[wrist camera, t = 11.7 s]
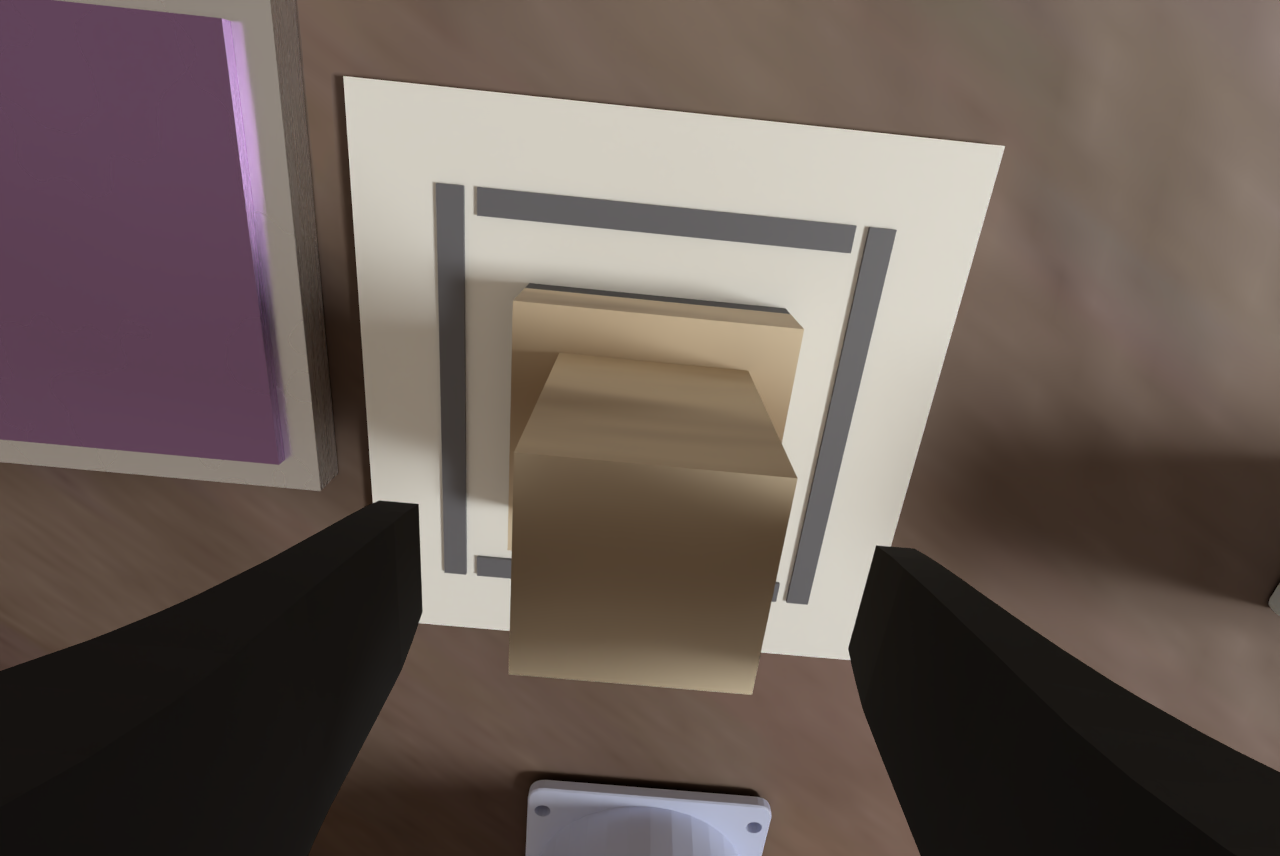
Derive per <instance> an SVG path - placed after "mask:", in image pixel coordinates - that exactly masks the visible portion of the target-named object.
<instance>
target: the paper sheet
mask: <svg viewBox="0 0 1280 856" xmlns="http://www.w3.org/2000/svg"><path fill="white" fill-rule="evenodd" d="M343 80H344V94H345V109H346V123H347V137H348V152H349V166H350V181H351V195H352V210H353V224H354V239H355V253H356V268H357V282H358V297H359V311H360V325H361V340H362V354H363V369H364V383H365V398H366V412H367V427H368V441H369V456H370V470H371V484H372V499H373V503H375V502H377V501H379V500H381V501H392V502H403V503H414V504H419V527H420V555H421V582H422V610H423V612H422V615H421V618H420V621H419V623H424V624H436V625H447V626H459V627H471V628H482V629H494V630H506V631H510V597H511V556H512V551H511V550H507V548H508V502H509V455H510V409H511V362H512V315H513V300H514V299H515V298H516V297H517V296H518V295H519V294H520V293H521V291H522V290H523V289H524V288H525V287H526V286H527V285H528V284H529V283H534V284H544V285H554V286H564V287H574V288H585V289H595V290H605V291H615V292H625V293H635V294H645V295H655V296H665V297H676V298H686V299H696V300H706V301H716V302H726V303H736V304H746V305H756V306H767V307H777V308H786V309H787V311H788V312H789V313H790V314H791V315H792V316H793V317H794V318H795V320H796V321H797V322H798V323H799V324H800V325H801V326H802V327H803V329H804V332H803V338H802V343H801V348H800V353H799V358H798V363H797V368H796V373H795V378H794V383H793V389H792V394H791V399H790V404H789V409H788V414H787V419H786V424H785V429H784V434H783V439H782V445H783V448H784V450H785V452H786V454H787V456H788V459H789V461H790V463H791V465H792V467H793V469H794V472H795V474H796V476H797V478H798V479H797V484H796V489H795V493H794V498H793V503H792V508H791V512H790V517H789V522H788V526H787V531H786V536H785V541H784V545H783V550H782V555H781V560H780V564H779V569H778V574H777V579H776V583H775V588H774V593H773V597H772V602H771V607H770V612H769V616H768V621H767V626H766V631H765V635H764V640H763V645H762V650H761V652H762V653H774V654H785V655H797V656H809V657H820V658H832V659H843V660H850V655H849V651H848V647H849V643H850V640H851V636H852V632H853V629H854V625H855V621H856V618H857V614H858V610H859V607H860V603H861V599H862V595H863V592H864V588H865V584H866V581H867V577H868V573H869V570H870V566H871V562H872V559H873V555H874V551H875V548H876V545H878V546H889V547H891V544H892V541H893V537H894V534H895V530H896V527H897V523H898V520H899V516H900V513H901V509H902V506H903V502H904V499H905V495H906V492H907V488H908V485H909V481H910V478H911V474H912V471H913V467H914V464H915V460H916V457H917V453H918V450H919V446H920V443H921V439H922V436H923V432H924V429H925V425H926V421H927V418H928V414H929V411H930V407H931V404H932V400H933V397H934V393H935V390H936V386H937V383H938V379H939V376H940V372H941V369H942V365H943V362H944V358H945V355H946V351H947V348H948V344H949V341H950V337H951V334H952V330H953V327H954V323H955V320H956V316H957V313H958V309H959V306H960V302H961V299H962V295H963V292H964V288H965V285H966V281H967V278H968V274H969V271H970V267H971V264H972V260H973V257H974V253H975V250H976V246H977V243H978V239H979V236H980V232H981V229H982V225H983V222H984V218H985V215H986V211H987V208H988V204H989V201H990V197H991V194H992V190H993V187H994V183H995V180H996V176H997V173H998V169H999V166H1000V162H1001V159H1002V155H1003V152H1004V148H1005V146H999V145H989V144H980V143H970V142H961V141H952V140H942V139H933V138H923V137H914V136H904V135H895V134H886V133H876V132H867V131H857V130H848V129H838V128H829V127H819V126H810V125H801V124H791V123H782V122H772V121H763V120H753V119H744V118H735V117H725V116H716V115H706V114H697V113H687V112H678V111H669V110H659V109H650V108H640V107H631V106H621V105H612V104H602V103H593V102H584V101H574V100H565V99H555V98H546V97H536V96H527V95H518V94H508V93H499V92H489V91H480V90H470V89H461V88H451V87H442V86H433V85H423V84H414V83H404V82H395V81H385V80H376V79H367V78H357V77H348V76H343Z"/></svg>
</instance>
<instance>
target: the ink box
mask: <svg viewBox="0 0 1280 856" xmlns="http://www.w3.org/2000/svg"><path fill="white" fill-rule="evenodd" d="M1269 606H1270V608H1271V609H1272V610H1273V611H1274V612H1275V613H1276V614H1277V615H1279V616H1280V583H1279V585H1278V586H1277V588H1276V590H1275V591H1274V593H1273V594H1272V596H1271V597H1270V600H1269Z"/></svg>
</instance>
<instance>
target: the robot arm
mask: <svg viewBox="0 0 1280 856" xmlns="http://www.w3.org/2000/svg"><path fill="white" fill-rule="evenodd" d="M422 612H423V610H422V582H421V555H420V527H419V504H414V503H403V502H392V501H381V500H379V501H377V502H375V503H373V504H370V505H368V506H366V507H364V508H362V509H360V510H358V511H356V512H355V513H353V514H351V515H349V516H347V517H345V518H343V519H342V520H340V521H338V522H336V523H334V524H333V525H331V526H329V527H327V528H325V529H324V530H322V531H320V532H318V533H316V534H315V535H313V536H311V537H309V538H307V539H305V540H304V541H302V542H300V543H298V544H296V545H294V546H293V547H291V548H289V549H287V550H285V551H283V552H282V553H280V554H278V555H276V556H274V557H272V558H271V559H269V560H267V561H265V562H263V563H261V564H259V565H257V566H255V567H253V568H251V569H249V570H247V571H245V572H243V573H241V574H239V575H237V576H235V577H233V578H231V579H229V580H227V581H225V582H223V583H221V584H219V585H217V586H215V587H213V588H210V589H208V590H206V591H204V592H202V593H200V594H198V595H196V596H194V597H192V598H190V599H187V600H185V601H183V602H181V603H179V604H176V605H174V606H172V607H170V608H167V609H165V610H163V611H160V612H158V613H156V614H153V615H151V616H148V617H146V618H144V619H141V620H139V621H136V622H134V623H131V624H129V625H126V626H124V627H122V628H119V629H117V630H114V631H112V632H109V633H107V634H104V635H101V636H99V637H96V638H94V639H91V640H88V641H86V642H83V643H80V644H77V645H74V646H71V647H68V648H65V649H63V650H60V651H57V652H54V653H51V654H48V655H45V656H42V657H39V658H37V659H34V660H31V661H28V662H25V663H22V664H19V665H16V666H14V667H11V668H8V669H5V670H2V671H0V856H308V854H309V852H310V849H311V847H312V845H313V842H314V840H315V838H316V836H317V834H318V832H319V829H320V827H321V825H322V823H323V821H324V819H325V817H326V815H327V813H328V810H329V808H330V806H331V804H332V802H333V801H334V799H335V797H336V795H337V793H338V791H339V789H340V787H341V785H342V783H343V781H344V780H345V778H346V776H347V774H348V772H349V770H350V768H351V766H352V764H353V762H354V761H355V759H356V757H357V755H358V753H359V751H360V749H361V747H362V745H363V743H364V741H365V740H366V738H367V736H368V734H369V732H370V730H371V728H372V726H373V724H374V722H375V721H376V719H377V717H378V715H379V713H380V711H381V709H382V707H383V705H384V703H385V701H386V699H387V697H388V695H389V693H390V691H391V690H392V688H393V686H394V684H395V682H396V680H397V678H398V676H399V674H400V672H401V670H402V667H403V665H404V662H405V659H406V657H407V654H408V651H409V649H410V646H411V643H412V641H413V638H414V635H415V632H416V629H417V626H418V624H419V621H420V618H421V615H422ZM848 651H849V655H850V660H851V664H852V668H853V673H854V677H855V681H856V685H857V689H858V693H859V696H860V700H861V704H862V708H863V711H864V713H865V716H866V719H867V721H868V724H869V727H870V729H871V732H872V734H873V737H874V739H875V742H876V745H877V747H878V750H879V752H880V755H881V757H882V760H883V762H884V765H885V767H886V770H887V772H888V775H889V777H890V780H891V782H892V785H893V787H894V790H895V792H896V795H897V797H898V800H899V802H900V805H901V807H902V810H903V812H904V815H905V817H906V820H907V822H908V825H909V827H910V830H911V832H912V835H913V837H914V840H915V842H916V845H917V847H918V850H919V852H920V855H921V856H1280V772H1278V771H1276V770H1274V769H1272V768H1270V767H1268V766H1266V765H1264V764H1262V763H1260V762H1258V761H1256V760H1254V759H1252V758H1250V757H1248V756H1246V755H1244V754H1242V753H1240V752H1238V751H1236V750H1234V749H1232V748H1230V747H1228V746H1226V745H1224V744H1222V743H1220V742H1219V741H1217V740H1215V739H1213V738H1211V737H1209V736H1207V735H1205V734H1203V733H1202V732H1200V731H1198V730H1196V729H1194V728H1192V727H1191V726H1189V725H1187V724H1185V723H1184V722H1182V721H1180V720H1178V719H1177V718H1175V717H1173V716H1171V715H1169V714H1168V713H1166V712H1164V711H1162V710H1161V709H1159V708H1157V707H1155V706H1153V705H1152V704H1150V703H1148V702H1146V701H1145V700H1143V699H1141V698H1139V697H1138V696H1136V695H1134V694H1133V693H1131V692H1129V691H1128V690H1126V689H1124V688H1123V687H1121V686H1119V685H1118V684H1116V683H1114V682H1113V681H1111V680H1109V679H1108V678H1106V677H1105V676H1103V675H1101V674H1100V673H1098V672H1097V671H1095V670H1094V669H1092V668H1091V667H1089V666H1087V665H1086V664H1084V663H1083V662H1081V661H1080V660H1078V659H1077V658H1075V657H1073V656H1072V655H1070V654H1069V653H1067V652H1066V651H1064V650H1062V649H1061V648H1060V647H1058V646H1057V645H1055V644H1054V643H1052V642H1051V641H1049V640H1048V639H1046V638H1045V637H1043V636H1042V635H1040V634H1039V633H1037V632H1036V631H1034V630H1033V629H1031V628H1030V627H1029V626H1027V625H1026V624H1024V623H1023V622H1021V621H1020V620H1018V619H1017V618H1016V617H1014V616H1013V615H1011V614H1010V613H1008V612H1007V611H1006V610H1004V609H1003V608H1001V607H1000V606H998V605H997V604H996V603H994V602H993V601H991V600H990V599H989V598H987V597H986V596H984V595H983V594H982V593H980V592H979V591H977V590H976V589H975V588H973V587H972V586H970V585H969V584H967V583H966V582H965V581H963V580H962V579H960V578H959V577H958V576H956V575H955V574H953V573H952V572H950V571H949V570H947V569H946V568H945V567H943V566H942V565H940V564H939V563H937V562H936V561H934V560H932V559H931V558H929V557H928V556H926V555H924V554H923V553H921V552H919V551H917V550H916V549H911V548H900V547H889V546H878V545H876V548H875V551H874V555H873V559H872V562H871V566H870V570H869V573H868V577H867V581H866V584H865V588H864V592H863V595H862V599H861V603H860V607H859V610H858V614H857V618H856V621H855V625H854V629H853V632H852V636H851V640H850V643H849V647H848ZM770 820H771V810H770V804H769V803H768V801H767V800H765V799H763V798H761V797H755V796H743V795H730V794H718V793H706V792H693V791H681V790H668V789H656V788H643V787H631V786H618V785H606V784H594V783H581V782H569V781H556V780H539V781H536V782H534V783H533V784H532V785H531V787H530V790H529V795H528V808H527V832H526V855H525V856H762V852H763V848H764V844H765V840H766V836H767V832H768V828H769V824H770Z"/></svg>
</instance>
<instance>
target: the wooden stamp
mask: <svg viewBox="0 0 1280 856" xmlns="http://www.w3.org/2000/svg"><path fill="white" fill-rule="evenodd" d="M803 332H804V329H803V327H802V326H801V325H800V324H799V323H798V322H797V321H796V320H795V318H794V317H793V316H792V315H791V314H790V313H789V312H788V311H787V309H786V308H777V307H767V306H756V305H746V304H736V303H726V302H716V301H706V300H696V299H686V298H676V297H665V296H655V295H645V294H635V293H625V292H615V291H605V290H595V289H585V288H574V287H564V286H554V285H544V284H534V283H529V284H528V285H527V286H526V287H525V288H524V289H523V290H522V291H521V293H520V294H519V295H518V296H517V297H516V298H515V299H514V300H513V315H512V362H511V409H510V455H509V502H508V548H507V550H511V551H512V556H511V597H510V638H509V674H512V675H523V676H535V677H547V678H559V679H571V680H583V681H595V682H607V683H618V684H630V685H642V686H654V687H666V688H678V689H690V690H702V691H713V692H725V693H737V694H749V695H752V692H753V687H754V683H755V678H756V673H757V668H758V664H759V659H760V654H761V650H762V645H763V640H764V635H765V631H766V626H767V621H768V616H769V612H770V607H771V602H772V597H773V593H774V588H775V583H776V579H777V574H778V569H779V564H780V560H781V555H782V550H783V545H784V541H785V536H786V531H787V526H788V522H789V517H790V512H791V508H792V503H793V498H794V493H795V489H796V484H797V479H798V478H797V476H796V474H795V472H794V469H793V467H792V465H791V463H790V461H789V459H788V456H787V454H786V452H785V450H784V448H783V445H782V439H783V434H784V429H785V424H786V419H787V414H788V409H789V404H790V399H791V394H792V389H793V383H794V378H795V373H796V368H797V363H798V358H799V353H800V348H801V343H802V338H803Z"/></svg>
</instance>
